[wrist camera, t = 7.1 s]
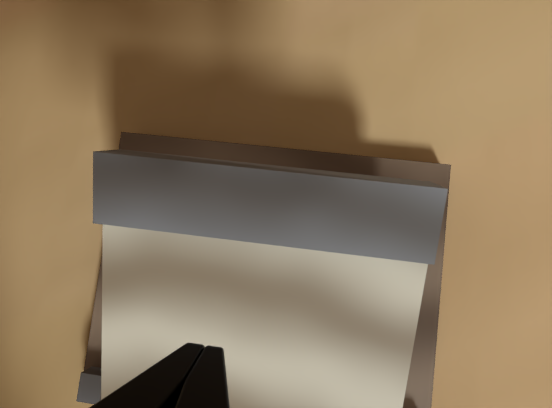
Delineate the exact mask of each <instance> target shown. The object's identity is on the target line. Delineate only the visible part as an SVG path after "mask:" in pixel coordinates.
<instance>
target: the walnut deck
mask: <svg viewBox="0 0 552 408" xmlns="http://www.w3.org/2000/svg"><path fill="white" fill-rule="evenodd" d="M120 149H122V150H131V151H141V152H150V153H160V154H170V155H179V156H189V157H199V158H208V159H218V160H228V161H237V162H247V163H257V164H266V165H276V166H286V167H295V168H305V169H315V170H324V171H334V172H344V173H353V174H363V175H372V176H382V177H392V178H401V179H411V180H421V181H430V182H433V183H435V184H438V185H440V186H443V187H445V188H447V189H448V192H447V198H446V203H445V209H444V214H443V220H442V226H441V231H440V237H439V242H438V248H437V253H436V259H435V264H434V265H432V264H428V267H427V273H426V278H425V284H424V289H423V295H422V301H421V306H420V312H419V318H418V323H417V329H416V335H415V340H414V346H413V352H412V357H411V363H410V369H409V374H408V380H407V386H406V391H405V397H404V402H403V408H431V403H432V391H433V378H434V366H435V354H436V341H437V329H438V317H439V304H440V292H441V280H442V267H443V255H444V243H445V230H446V218H447V206H448V193H449V181H450V169H451V165H448V164H438V163H428V162H418V161H408V160H398V159H388V158H378V157H368V156H357V155H347V154H337V153H327V152H317V151H307V150H297V149H287V148H277V147H267V146H257V145H247V144H237V143H227V142H217V141H207V140H197V139H187V138H177V137H167V136H156V135H146V134H136V133H126V132H121V138H120V145H119V150H120ZM101 362H102V259H101V265H100V272H99V278H98V284H97V291H96V297H95V303H94V310H93V316H92V322H91V329H90V335H89V341H88V348H87V354H86V360H85V367H84V371H83V372H81V376H80V382H79V388H78V395H77V401H78V402H84V403H90V404H96V403H97V402H99V401H100V400H101Z"/></svg>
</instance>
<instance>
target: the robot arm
mask: <svg viewBox="0 0 552 408" xmlns="http://www.w3.org/2000/svg"><path fill="white" fill-rule="evenodd" d="M90 408H230V404H229V394H228V385H227V375H226V366H225V357H224V349H223V348H222V347H217V346H210V345H208V346H206V347H205V346H204V345H203V344H196V343H186V344H184V345H183V346H181V347H180V348H178V349H177V350H175V351H174V352H172V353H171V354H169V355H168V356H166V357H165V358H163V359H162V360H160V361H159V362H157V363H156V364H154V365H153V366H151V367H150V368H148V369H147V370H145V371H144V372H142V373H141V374H139V375H138V376H136V377H135V378H133V379H132V380H130V381H129V382H127V383H126V384H124V385H123V386H121V387H120V388H118V389H117V390H115V391H114V392H112V393H111V394H109V395H108V396H106V397H105V398H103V399H102V400H100V401H99V402H97V403H96V404H94V405H93V406H91V407H90Z"/></svg>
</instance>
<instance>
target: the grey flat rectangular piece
mask: <svg viewBox="0 0 552 408" xmlns="http://www.w3.org/2000/svg"><path fill="white" fill-rule="evenodd" d="M447 192H448V189H447V188H445V187H443V186H440V185H438V184H435V183H433V182H430V181H421V180H411V179H401V178H392V177H382V176H372V175H363V174H353V173H344V172H334V171H324V170H315V169H305V168H295V167H286V166H276V165H266V164H257V163H247V162H237V161H228V160H218V159H208V158H199V157H189V156H179V155H170V154H160V153H150V152H141V151H131V150H122V149H120V150H108V151H95V152H93V223H95V224H103V248H102V362H101V400H102V399H103V398H105V397H106V396H108V395H109V394H111V393H112V392H114V391H115V390H117V389H118V388H120V387H121V386H123V385H124V384H126V383H127V382H129V381H130V380H132V379H133V378H135V377H136V376H138V375H139V374H141V373H142V372H144V371H145V370H147V369H148V368H150V367H151V366H153V365H154V364H156V363H157V362H159V361H160V360H162V359H163V358H165V357H166V356H168V355H169V354H171V353H172V352H174V351H175V350H177V349H178V348H180V347H181V346H183V345H184V344H186V343H196V344H203V345H204V346H205V347H206V346H208V345H210V346H217V347H222V348H223V349H224V357H225V366H226V375H227V385H228V394H229V404H230V408H403V402H404V397H405V391H406V386H407V380H408V374H409V369H410V363H411V357H412V352H413V346H414V340H415V335H416V329H417V323H418V318H419V312H420V306H421V301H422V295H423V289H424V284H425V278H426V273H427V267H428V264H432V265H434V264H435V259H436V253H437V248H438V242H439V237H440V231H441V226H442V220H443V214H444V209H445V203H446V198H447Z"/></svg>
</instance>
